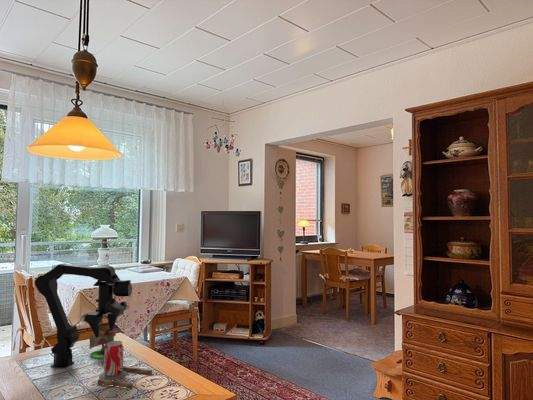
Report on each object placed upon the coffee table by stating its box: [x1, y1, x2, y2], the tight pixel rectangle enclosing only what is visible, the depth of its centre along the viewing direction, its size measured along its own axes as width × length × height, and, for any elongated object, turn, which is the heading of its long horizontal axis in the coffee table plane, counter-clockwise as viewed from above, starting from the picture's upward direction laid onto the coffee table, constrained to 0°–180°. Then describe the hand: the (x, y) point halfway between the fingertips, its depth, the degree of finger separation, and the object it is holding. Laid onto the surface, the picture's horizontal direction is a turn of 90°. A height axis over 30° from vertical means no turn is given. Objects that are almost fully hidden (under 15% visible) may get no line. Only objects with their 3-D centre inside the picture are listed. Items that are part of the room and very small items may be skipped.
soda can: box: [103, 340, 125, 377], centre depth 150 cm, size 7×7×12 cm
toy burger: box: [88, 318, 117, 360], centre depth 172 cm, size 12×13×15 cm
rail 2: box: [123, 365, 153, 375], centre depth 153 cm, size 14×1×2 cm, turn 76°
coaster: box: [98, 370, 127, 381], centre depth 149 cm, size 10×10×1 cm
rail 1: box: [97, 378, 134, 389], centre depth 140 cm, size 14×1×2 cm, turn 76°
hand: (104, 333), depth 160 cm, fingers open, 9 cm apart
